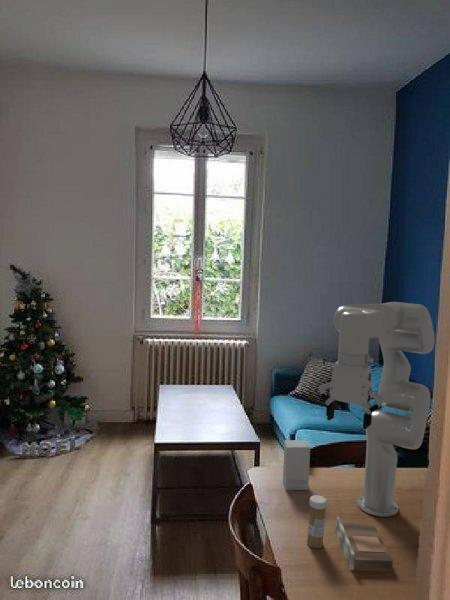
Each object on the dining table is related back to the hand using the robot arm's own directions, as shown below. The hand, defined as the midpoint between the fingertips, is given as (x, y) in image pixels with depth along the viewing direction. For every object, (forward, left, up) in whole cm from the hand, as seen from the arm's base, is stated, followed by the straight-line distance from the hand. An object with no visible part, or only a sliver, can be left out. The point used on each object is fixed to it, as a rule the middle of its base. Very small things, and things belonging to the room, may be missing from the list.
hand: (347, 423), depth 135 cm
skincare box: (-39, -6, -37) cm, 54 cm away
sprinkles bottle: (-5, -5, -37) cm, 38 cm away
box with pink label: (-3, +8, -37) cm, 38 cm away
